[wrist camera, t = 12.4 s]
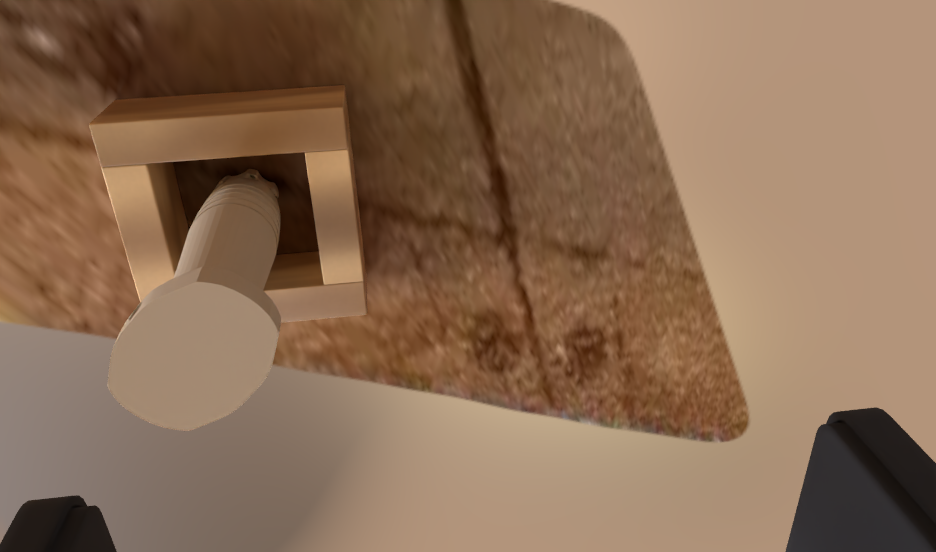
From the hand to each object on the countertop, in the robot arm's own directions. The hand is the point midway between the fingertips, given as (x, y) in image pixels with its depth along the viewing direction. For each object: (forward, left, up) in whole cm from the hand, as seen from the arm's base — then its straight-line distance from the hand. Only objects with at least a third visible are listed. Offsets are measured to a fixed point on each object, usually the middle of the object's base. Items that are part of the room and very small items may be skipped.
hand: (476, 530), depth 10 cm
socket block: (+7, -8, -30) cm, 32 cm away
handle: (+7, -8, -30) cm, 32 cm away
